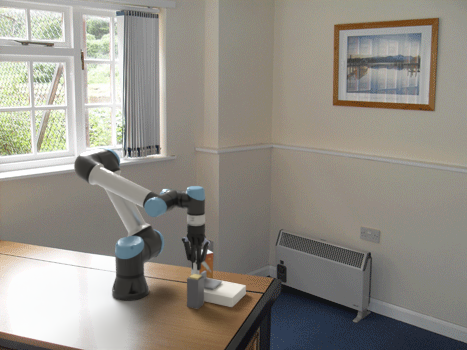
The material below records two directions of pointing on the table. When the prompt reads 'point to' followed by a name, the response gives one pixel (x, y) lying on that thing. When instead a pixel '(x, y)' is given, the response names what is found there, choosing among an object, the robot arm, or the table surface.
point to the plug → (195, 291)
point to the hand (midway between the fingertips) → (196, 276)
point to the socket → (225, 293)
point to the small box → (206, 265)
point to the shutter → (210, 282)
